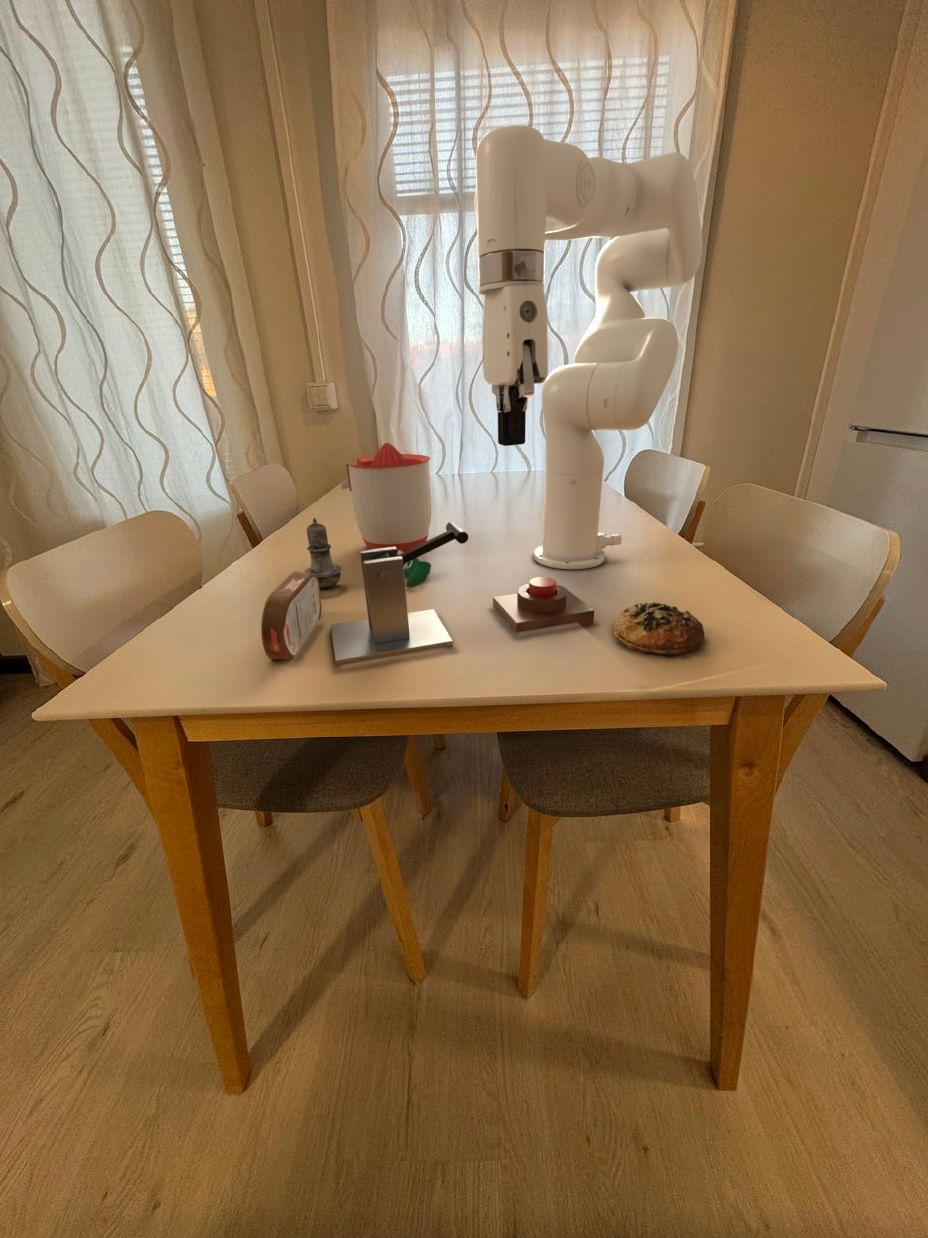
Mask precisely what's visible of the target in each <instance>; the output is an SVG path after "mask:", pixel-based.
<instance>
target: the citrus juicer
mask: <svg viewBox="0 0 928 1238" xmlns="http://www.w3.org/2000/svg"><path fill="white" fill-rule="evenodd" d="M430 460H431V458H430V456H428V455H424V454H414V453H401V452H400V451H399V450H398V449H397V448H396V447H395V446H394V445H393V444H392V443H390V442H388V441H387V442H384V443H383V444H382V445H381V447H380V448H379V449H378V451H377V452H376V454H375V455H369V456H362V457H357V458H356V465H355V464H351V463H349V462H346V471H347V478H348V479H346V480H345V481H343V482H342V484H341V490H345V489H349V492H351V498H352V506H353V513H354V517H355V520H356V521H355V522H356V524H357V527H358V530H359V532H360V535H361V537H362V540H363V543H364V544H365V545H366V547H367V550H371V549H380V548H388V547H396V549H397V554H398V550H400V551H402V552H406V551H408V550H410V549H412V548H414V547H416V546H418V545H420V544H422V543H424V542H426V541H428V537H429V534H430V532H429V531H430V528H431V523H432V522H431V520H432V512H433V511H432V490H431V489H432V487H431V474H430V473H431V471H430Z"/></svg>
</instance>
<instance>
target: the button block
mask: <svg viewBox="0 0 928 1238" xmlns="http://www.w3.org/2000/svg"><path fill="white" fill-rule="evenodd" d="M492 606H493V608H494V609H495V610H496V611H497V612H498V613H499V614H500V616H501V617H502V618H503V619H504V620H505V621H506V623H507V624H508V625H509V626H510V627H511V628H512V629H513V630H514V631H515V633H523V632H528V631H534V630H539V629H545V628H550V627H556V626H562V625H568V624H575V623H577V624H578V625H579V626H580V627H589V626H594V620H595V610H594V608H592V607H591V606H589V605H588V604H587V603H586V602H584V601H583V600H582V599H580V598H579V597H578V596H577V595H575V594H574V593H572V592H571V591H570V590H568V588H566V587H565V586H563V585H561V584H557V583H556V595H554V596H552V597H535V596H532V595H529V583H526V584H523V585H521V586H519V587H518V590H517V593H512V594H511V593H510V594H504V595H498V596H493V597H492Z"/></svg>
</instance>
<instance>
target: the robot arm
mask: <svg viewBox="0 0 928 1238" xmlns="http://www.w3.org/2000/svg"><path fill="white" fill-rule="evenodd" d="M473 202H474V203H473V205H474V206H473V207H474V213H475V214H474V215H475V219H476V227H477V228H476V231H477V262H478V263H477V265H478V294H479V295H481V296H484V297H483V312H482V313H483V315H482V372H483V378H484V380H485V382H486V383H487V384H489V385H491V393H492V394H493V395H494V396H495V404H496V405H495V406H496V412H497V443H498V445H500V446H504V447H510V446H518V445H521V446H522V445H524V444H526V422H527V421H526V416H527V414H526V413H527V411H528V403H529V398H530V397H532V396H534V394H535V385H538V384H543V385H542V389H541V406H542V407H541V408H542V413H543V414H542V415H543V421H544V430H545V431H544V432H545V470H544V471H545V472H544V473H545V474H544V495H543V496H544V498H543V523H542V524H543V527H542V529H543V530H542V545H540V546H538V547H537V548H535V549H534V551H533V559H534V560H535V561H536V563H538V564H540V565H542V566H545V567H548V568H554V569H559V570H584V569H590V568H595V567H597V566H599V565H601V564H603V563H604V562H605V559H606V558H605V557H606V554H605V551H604V550H603V549H605V548H607V546H610V547H613V546H619V545H621V544H622V543H623V542H622V541H623V537H622V535H621V534H620V533H617V534H615V533H614V534H609V535H608V533H607V532H599V525H600V511H601V499H602V487H603V476H604V475H603V474H604V473H603V472H604V465H605V458H604V451H603V450H602V447H601V444H600V442H599V441H598V439H597V438H596V435H595V434H594V432H593V431H597V430H598V431H634V430H638V429H641V428H643V427H644V426H645V425H646V424H647V423H648V422H649V420H650V419H651V418H652V416H653V413H654V412H655V409H656V408H657V405H658V404H659V401H660V399H661V397H662V395H663V393H664V391H665V388H666V386H667V384H668V382H669V381H670V378H671V375H672V373H673V371H674V367H675V364H676V361H677V356H678V349H679V339H678V332H677V329H676V327H675V325H674V324H673V322H672V321H671V320H669V319H667V318H664V317H646V312H645V311H644V309H643V308H644V307H642V305H641V303H640V302H639V301H638V299H637V298H636V297H635V295H633V294H632V293H633V292H642V291H649V290H650V291H651V290H656V289H666V288H674V287H680V286H683V285H685V284H687V283H688V282H690V281H691V280H692V279H693V278H695V276H696V274H697V272H698V270H699V268H700V265H701V261H702V255H703V235H702V227H701V225H702V224H701V217H700V210H699V199H698V191H697V185H696V181H695V175H694V172H693V169H692V167H691V165H690V161H689V160H688V158H687V157H686V156H685V155H684V154H683V153H681V152H675V151H674V152H669V153H665V154H661V155H657V156H653V157H650V158H646V159H642V160H638V161H634V162H627V163H623V162H619V161H618V162H617V161H614V160H611V159H608V158H604V157H599V156H591V157H588V155H587V154H586V153H585V152H584V151H583V150H582V149H581V148H580V147H578V146H577V145H574V144H572V143H568V142H561V141H556V140H550V139H546V138H545V137H544V135H543V133H542V132H541V131H539V130H538V129H537V128H535V127H532V126H529V125H524V124H509V125H504V126H503V125H502V126H500V127H497V128H494V129H492V130H490V131H488V132H487V133H485V134H483V136H482V137H481V139H480V140H479V142H478V144H477V147H476V152H475V191H474V200H473ZM596 238H612V239H611V240H609V241H607V242H606V243H605V244H604V245H603V246H602V248H601V250H600V251H599V252H598V255H597V258H596V262H595V270H594V294H595V295H594V296H595V307H596V314H595V317H594V318H593V320H592V322H591V323H590V325H589V326H588V328H587V329H586V332H585V334H584V335H583V337H582V338H581V340H580V342H579V344H578V346H577V348H576V351H575V353H574V358H573V363H570V364H565V365H562V366H561V365H560V366H559V367H557V368H555V369H554V370H552V371H551V372H550V373H549V374H548V372H549V371H548V370H549V340H548V339H549V338H548V337H549V336H548V314H547V302H546V294H545V268H546V267H545V265H546V263H545V262H546V241H573V240H580V239H596Z"/></svg>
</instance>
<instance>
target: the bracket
mask: <svg viewBox="0 0 928 1238" xmlns="http://www.w3.org/2000/svg"><path fill="white" fill-rule="evenodd" d="M385 553H387V554H388V555H389V557H390V558H384V559H375V558H377V557H379V556H381V555H383V554H385ZM397 554H398V553H397V549H396V547H388V548H380V549H371V550H369V549H365V550H363V549H362V550H359V556H360V557H359V559H360V565H361V573H362V580H363V588H364V589H363V590H364V595H365V605H366V611H367V618H366V619H359V620H353V621H345V622H339V623H332V624H330V632H331V639H332V647H333V655H334V663H335V666H339V665H347V664H352V663H359V662H363V661H364V662H365V661H370V660H375V659H381V658H386V657H393V656H399V655H404V654H411V653H416V652H423V651H427V650H428V651H429V650H434V649H440V648H445V647H452V646H454V640H453V639H452V637H451V636H450V634H449V632H448V631H447V629H446V627H445V626H444V624H443V622H442V621H441V619H440V617H439V615H438V614H437V612H436V611H435V609H434V608H432V609H424V610H419V611H412V612H411V611H410V612H409V611H408V603H407V602H408V601H407V591H406V581H405V580H406V578H405V577H404V568H403V559H402V557H401V556H400V557H396V556H397ZM373 559H375V560H373Z"/></svg>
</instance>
